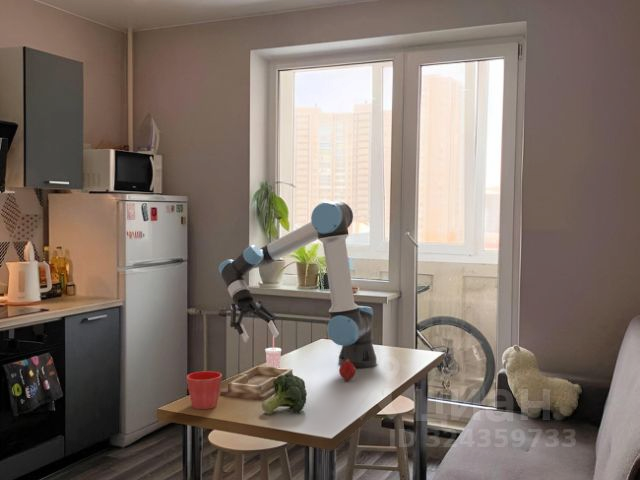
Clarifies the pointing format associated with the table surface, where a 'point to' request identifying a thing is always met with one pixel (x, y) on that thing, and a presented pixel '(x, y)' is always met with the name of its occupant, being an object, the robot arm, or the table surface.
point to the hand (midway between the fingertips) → (262, 338)
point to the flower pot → (204, 389)
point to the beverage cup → (273, 356)
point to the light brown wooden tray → (255, 383)
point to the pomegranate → (347, 370)
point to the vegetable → (287, 394)
